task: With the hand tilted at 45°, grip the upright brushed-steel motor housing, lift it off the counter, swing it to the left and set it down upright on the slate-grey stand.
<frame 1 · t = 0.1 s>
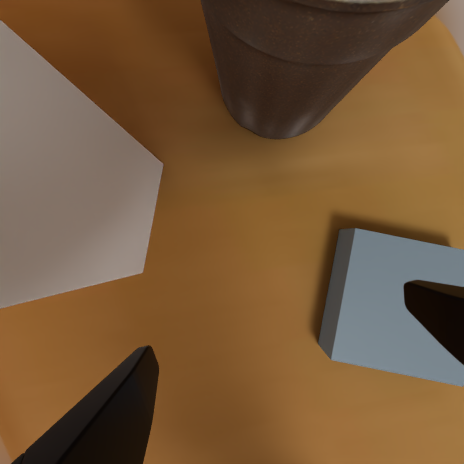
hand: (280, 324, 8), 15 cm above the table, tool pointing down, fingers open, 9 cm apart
plant pot: (275, 86, 24), on the table
stand: (385, 297, 23), on the table
milk: (97, 208, 24), on the table
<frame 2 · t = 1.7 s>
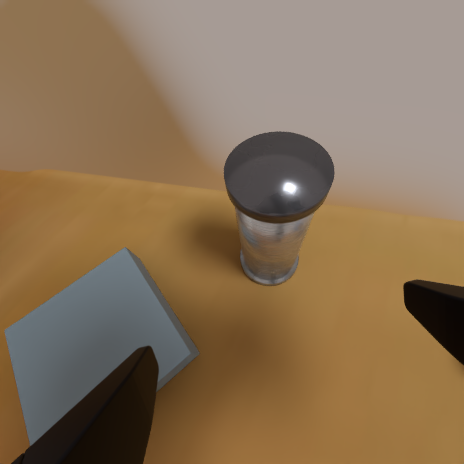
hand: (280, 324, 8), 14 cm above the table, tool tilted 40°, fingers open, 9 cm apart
stand: (112, 342, 21), on the table
housing: (268, 258, 23), on the table
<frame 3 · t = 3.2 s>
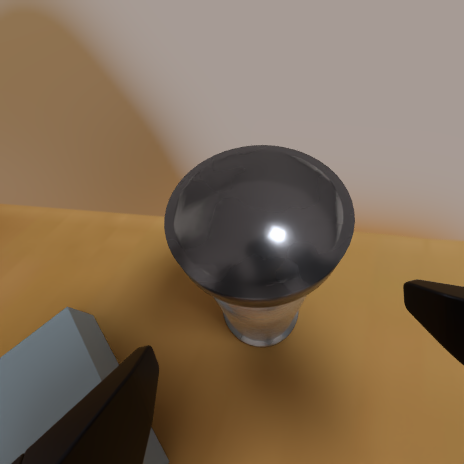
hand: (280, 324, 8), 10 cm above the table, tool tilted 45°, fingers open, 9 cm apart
stand: (46, 449, 15), on the table
housing: (259, 306, 18), on the table
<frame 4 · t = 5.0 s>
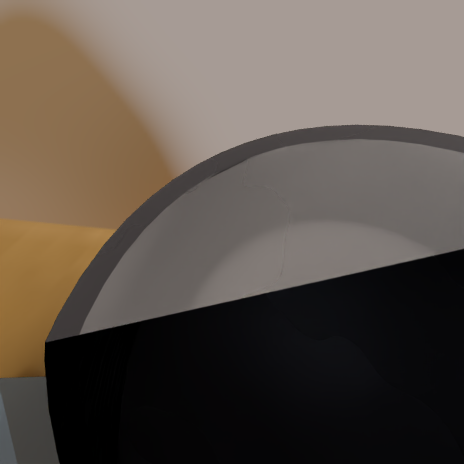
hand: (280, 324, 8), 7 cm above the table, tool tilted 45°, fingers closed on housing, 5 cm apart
housing: (280, 370, 13), on the table, touching gripper
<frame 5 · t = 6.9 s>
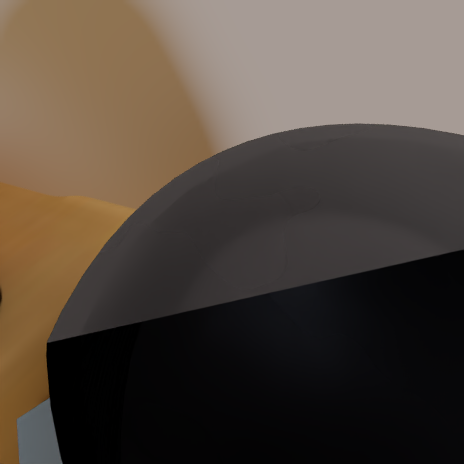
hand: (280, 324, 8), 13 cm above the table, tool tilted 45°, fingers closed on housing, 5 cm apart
stand: (141, 444, 17), on the table
housing: (280, 369, 13), point 7 cm above the table, touching gripper
when the fingers open (11 cm above the table, at t = 8.8 s): housing drops 1 cm, resting on stand.
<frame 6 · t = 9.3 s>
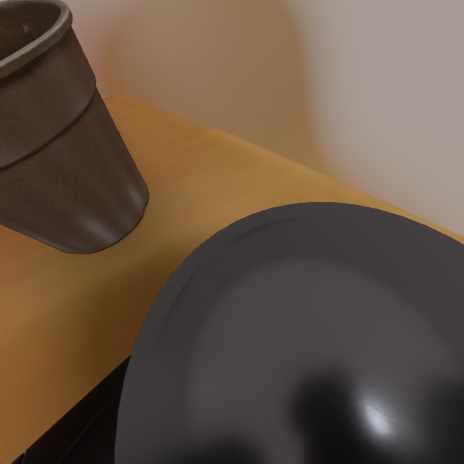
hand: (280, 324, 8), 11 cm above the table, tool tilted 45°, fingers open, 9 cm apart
plant pot: (100, 212, 27), on the table
housing: (279, 372, 14), point 3 cm above the table, touching stand
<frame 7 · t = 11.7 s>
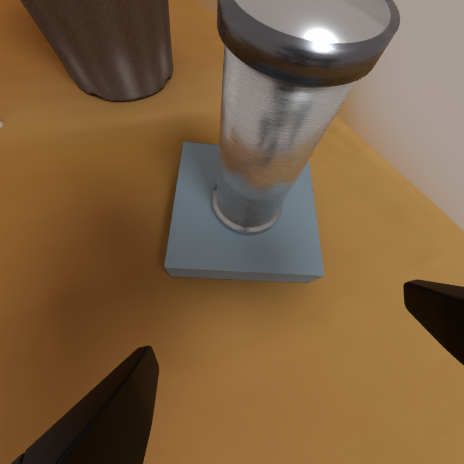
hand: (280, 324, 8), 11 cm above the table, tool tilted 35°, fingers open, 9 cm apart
plant pot: (123, 72, 29), on the table
stand: (241, 217, 22), on the table
housing: (246, 203, 19), point 3 cm above the table, touching stand
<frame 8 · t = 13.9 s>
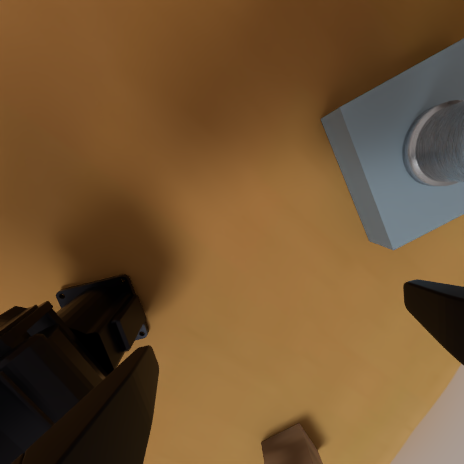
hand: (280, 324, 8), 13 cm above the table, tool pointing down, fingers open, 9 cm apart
offcut block: (289, 445, 26), on the table
stand: (408, 150, 20), on the table
housing: (439, 146, 17), point 3 cm above the table, touching stand
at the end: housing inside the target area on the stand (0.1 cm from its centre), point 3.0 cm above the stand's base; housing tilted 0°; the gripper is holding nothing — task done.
